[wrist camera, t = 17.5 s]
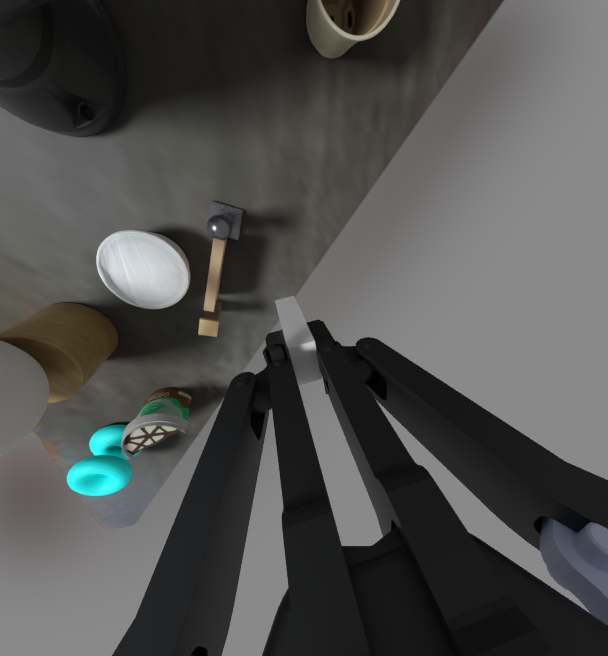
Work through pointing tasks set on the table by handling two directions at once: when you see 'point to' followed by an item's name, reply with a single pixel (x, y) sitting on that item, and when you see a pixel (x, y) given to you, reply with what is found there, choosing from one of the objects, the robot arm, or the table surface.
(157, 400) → the food container
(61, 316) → the lamp
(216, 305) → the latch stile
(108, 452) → the donuts
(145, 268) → the ramekin
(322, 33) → the flower pot
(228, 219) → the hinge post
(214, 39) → the table surface
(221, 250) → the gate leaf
